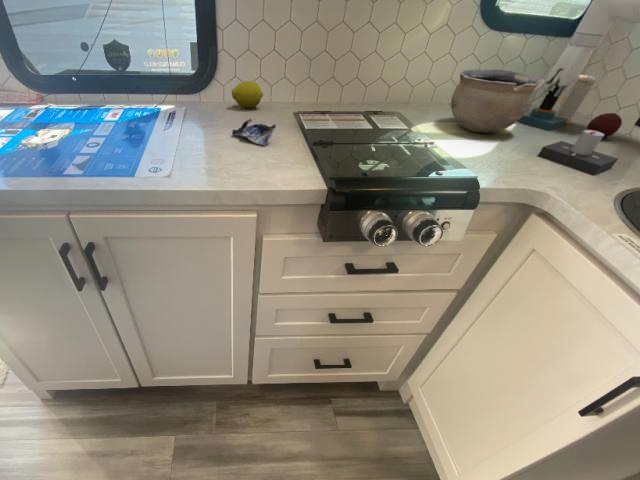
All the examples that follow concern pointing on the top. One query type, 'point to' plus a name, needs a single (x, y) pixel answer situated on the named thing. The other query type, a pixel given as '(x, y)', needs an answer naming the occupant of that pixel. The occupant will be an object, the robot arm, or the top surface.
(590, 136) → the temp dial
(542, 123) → the block
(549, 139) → the top surface
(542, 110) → the button
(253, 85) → the lemon
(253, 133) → the snack package
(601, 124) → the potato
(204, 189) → the top surface
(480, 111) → the ceramic bowl
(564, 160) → the dial base
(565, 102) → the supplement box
